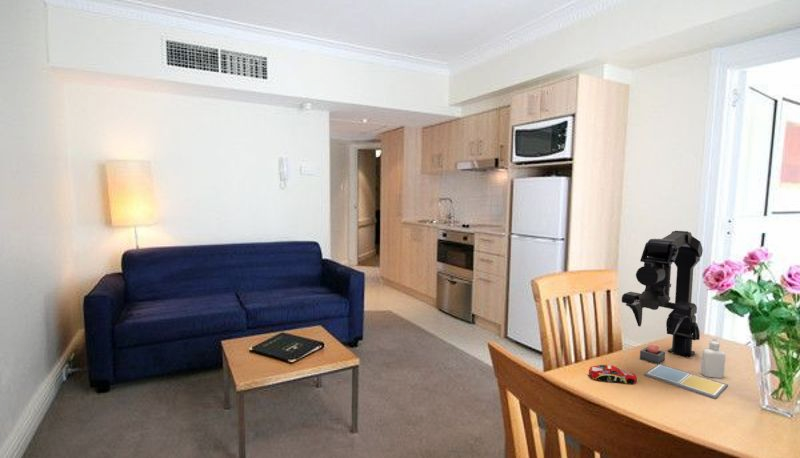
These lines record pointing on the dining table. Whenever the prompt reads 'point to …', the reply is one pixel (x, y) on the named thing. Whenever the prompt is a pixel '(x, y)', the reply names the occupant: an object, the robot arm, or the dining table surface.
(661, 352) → the button housing
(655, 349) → the button
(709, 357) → the eye dropper bottle
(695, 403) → the dining table surface
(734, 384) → the dining table surface
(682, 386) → the grey flat rectangular board
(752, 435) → the dining table surface
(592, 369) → the race car
